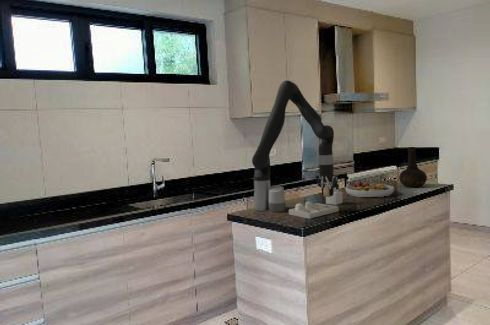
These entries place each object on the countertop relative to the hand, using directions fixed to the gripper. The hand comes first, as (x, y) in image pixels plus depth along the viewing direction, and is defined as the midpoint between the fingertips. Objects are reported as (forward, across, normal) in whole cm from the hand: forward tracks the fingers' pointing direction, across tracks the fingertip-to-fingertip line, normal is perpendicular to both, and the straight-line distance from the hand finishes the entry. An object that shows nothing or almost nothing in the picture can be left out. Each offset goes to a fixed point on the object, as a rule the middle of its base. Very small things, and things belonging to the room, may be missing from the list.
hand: (327, 195), depth 205 cm
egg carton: (+9, +4, +7) cm, 12 cm away
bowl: (+10, +15, -58) cm, 61 cm away
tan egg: (0, 0, 0) cm, 0 cm away
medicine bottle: (+10, +14, -21) cm, 27 cm away
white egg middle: (+9, +7, +7) cm, 13 cm away
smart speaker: (+9, +23, +16) cm, 29 cm away
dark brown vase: (+10, +9, -100) cm, 101 cm away
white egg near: (+8, +7, +14) cm, 18 cm away
